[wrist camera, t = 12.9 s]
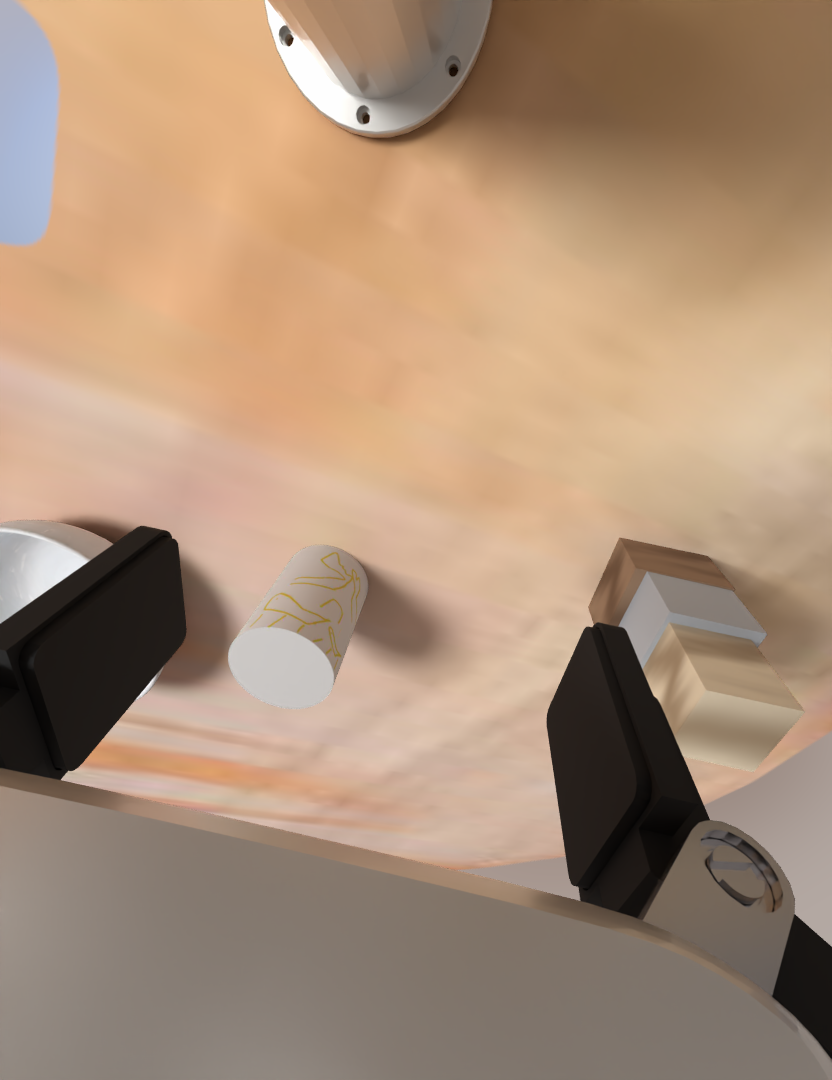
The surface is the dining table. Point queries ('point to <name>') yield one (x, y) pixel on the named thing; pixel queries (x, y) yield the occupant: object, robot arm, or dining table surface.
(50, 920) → the robot arm
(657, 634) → the grey block
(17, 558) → the serving bowl
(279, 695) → the cup
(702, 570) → the walnut block
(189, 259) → the dining table surface
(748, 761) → the maple cube
